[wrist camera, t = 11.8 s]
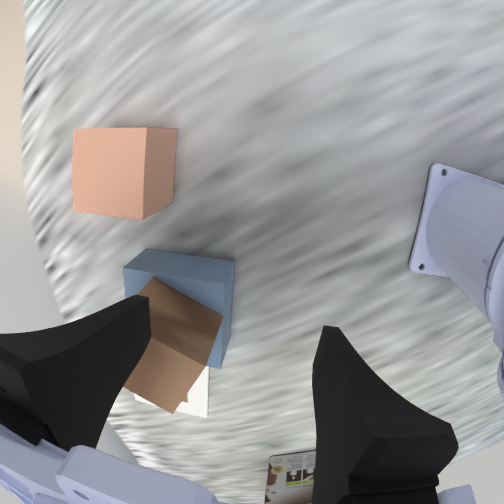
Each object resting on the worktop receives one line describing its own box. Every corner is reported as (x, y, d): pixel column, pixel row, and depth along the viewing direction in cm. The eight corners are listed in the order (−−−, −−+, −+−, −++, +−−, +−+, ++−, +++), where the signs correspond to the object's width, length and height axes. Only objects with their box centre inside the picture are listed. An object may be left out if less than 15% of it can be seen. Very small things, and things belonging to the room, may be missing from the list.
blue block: (235, 259, 23) (225, 283, 19) (230, 337, 25) (220, 368, 22) (147, 247, 23) (123, 267, 20) (151, 323, 26) (132, 350, 22)
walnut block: (223, 316, 20) (205, 366, 15) (192, 364, 22) (172, 413, 17) (153, 276, 20) (118, 316, 15) (131, 329, 21) (100, 372, 17)
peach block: (178, 128, 20) (146, 127, 15) (173, 201, 22) (142, 219, 17) (114, 128, 20) (73, 129, 16) (111, 195, 22) (73, 211, 17)
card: (209, 360, 26) (208, 363, 26) (207, 415, 29) (206, 418, 29) (127, 341, 27) (124, 344, 26) (136, 397, 30) (135, 400, 29)
